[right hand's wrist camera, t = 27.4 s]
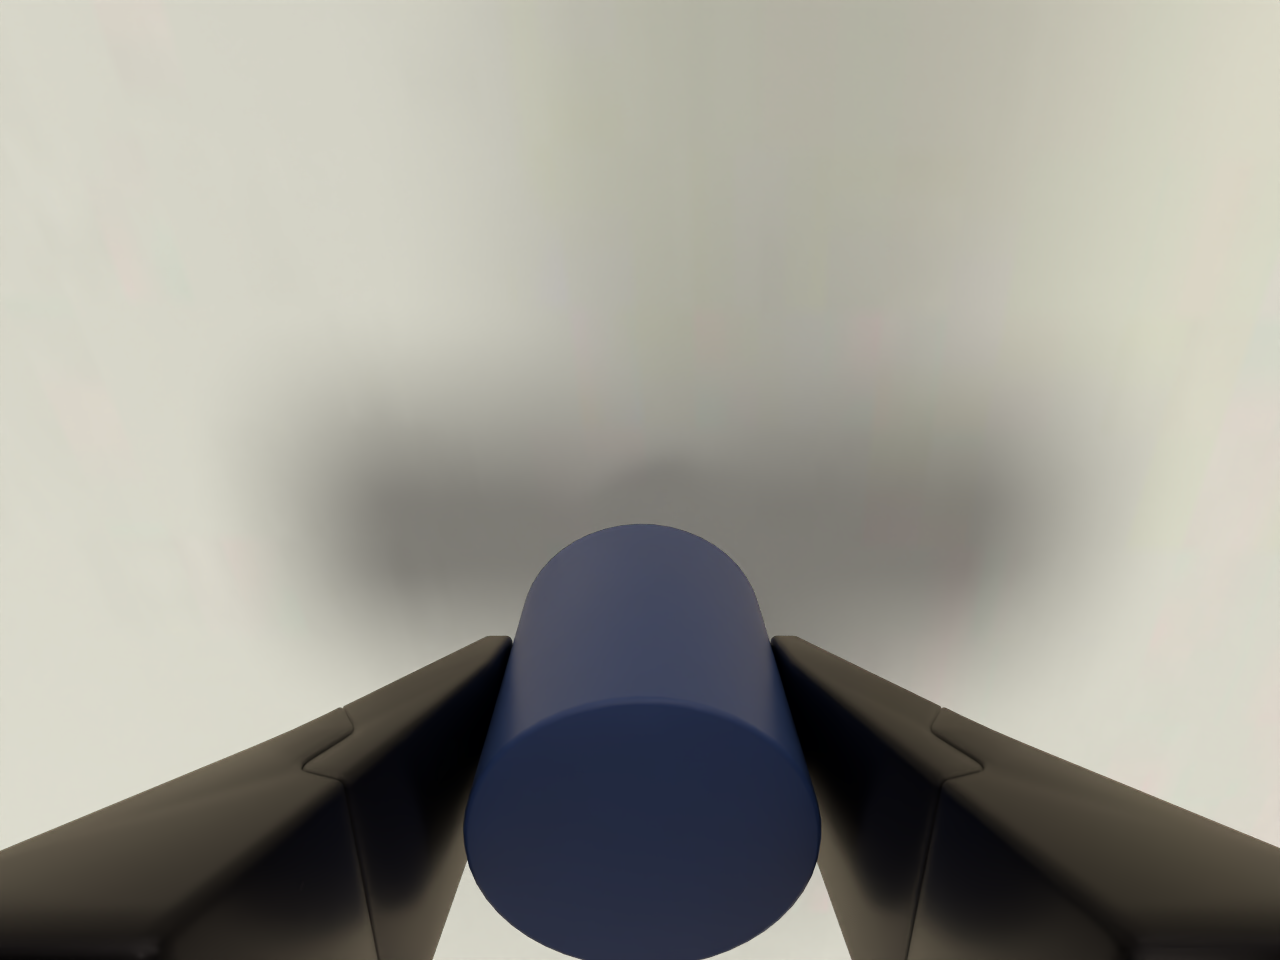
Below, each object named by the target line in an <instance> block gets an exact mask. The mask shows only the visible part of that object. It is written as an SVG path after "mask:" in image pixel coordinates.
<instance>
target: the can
mask: <svg viewBox="0 0 1280 960" xmlns="http://www.w3.org/2000/svg"><path fill="white" fill-rule="evenodd" d="M463 836H464V847H465V852H466V856H467V860H468V864H469V868H470V870H471V872H472V874H473V877H474V879H475V881H476V884H477V885H478V887H479V888H480V890H481V892H482V893H483V895H484V896H485V898H486V899H487V900H488V902H489V903H490V904H491V905H492V906H493V907H494V909H495V910H496V911H497V912H498V913H499V914H500V915H501V916H502V917H503V918H504V919H505V920H507V921H508V922H509V923H510V924H511V925H512V926H514V927H515V928H516V929H518V930H519V931H521V932H522V933H523V934H525V935H526V936H528V937H529V938H531V939H533V940H535V941H537V942H539V943H540V944H542V945H544V946H546V947H548V948H551V949H553V950H555V951H558V952H560V953H563V954H565V955H569V956H572V957H575V958H578V959H582V960H702V959H706V958H710V957H713V956H715V955H718V954H721V953H724V952H726V951H729V950H731V949H733V948H735V947H737V946H740V945H742V944H744V943H746V942H748V941H749V940H751V939H753V938H754V937H756V936H757V935H759V934H761V933H762V932H764V931H765V930H767V929H768V928H769V927H770V926H772V925H773V924H774V923H775V922H777V921H778V920H779V919H780V918H781V917H782V916H783V915H784V914H785V913H786V912H787V911H788V910H789V909H790V908H791V907H792V906H793V905H794V903H795V902H796V901H797V899H798V898H799V897H800V895H801V894H802V893H803V891H804V889H805V887H806V886H807V884H808V882H809V880H810V878H811V876H812V874H813V871H814V868H815V865H816V862H817V859H818V855H819V849H820V843H821V815H820V810H819V805H818V800H817V797H816V794H815V790H814V787H813V784H812V780H811V777H810V774H809V770H808V767H807V764H806V761H805V757H804V754H803V751H802V747H801V744H800V741H799V737H798V734H797V731H796V727H795V724H794V721H793V717H792V714H791V711H790V707H789V704H788V701H787V697H786V694H785V691H784V688H783V684H782V681H781V678H780V674H779V671H778V668H777V664H776V661H775V658H774V654H773V651H772V648H771V644H770V641H769V638H768V634H767V631H766V628H765V625H764V621H763V618H762V615H761V611H760V608H759V605H758V602H757V599H756V596H755V593H754V591H753V588H752V587H751V585H750V583H749V581H748V579H747V577H746V576H745V575H744V573H743V572H742V571H741V569H740V568H739V567H738V565H737V564H736V563H735V562H734V561H733V560H732V559H731V558H730V557H729V556H728V555H727V554H725V553H724V552H723V551H721V550H720V549H719V548H717V547H716V546H715V545H713V544H711V543H710V542H708V541H706V540H704V539H703V538H701V537H698V536H696V535H693V534H691V533H689V532H686V531H683V530H679V529H676V528H672V527H667V526H660V525H654V524H632V525H621V526H616V527H611V528H607V529H603V530H600V531H597V532H594V533H592V534H589V535H587V536H585V537H583V538H581V539H579V540H577V541H575V542H573V543H572V544H570V545H569V546H567V547H566V548H564V549H563V550H561V551H560V552H559V553H558V554H557V555H555V556H554V557H553V558H552V559H551V560H550V561H549V562H548V563H547V564H546V565H545V567H544V568H543V569H542V570H541V571H540V573H539V574H538V576H537V577H536V579H535V581H534V582H533V584H532V586H531V588H530V590H529V593H528V595H527V597H526V601H525V604H524V608H523V611H522V615H521V618H520V622H519V625H518V628H517V632H516V635H515V639H514V642H513V646H512V649H511V653H510V656H509V660H508V663H507V666H506V670H505V673H504V677H503V680H502V684H501V687H500V691H499V694H498V698H497V701H496V704H495V708H494V711H493V715H492V718H491V722H490V725H489V729H488V732H487V736H486V739H485V742H484V746H483V749H482V753H481V756H480V760H479V763H478V767H477V770H476V774H475V777H474V780H473V784H472V787H471V791H470V794H469V798H468V801H467V805H466V809H465V814H464V824H463Z"/></svg>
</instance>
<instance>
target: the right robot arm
mask: <svg viewBox="0 0 1280 960" xmlns="http://www.w3.org/2000/svg"><path fill="white" fill-rule="evenodd" d="M770 644H771V648H772V651H773V654H774V658H775V661H776V664H777V668H778V671H779V674H780V678H781V681H782V684H783V688H784V691H785V694H786V697H787V701H788V704H789V707H790V711H791V714H792V717H793V721H794V724H795V727H796V731H797V734H798V737H799V741H800V744H801V747H802V751H803V754H804V757H805V761H806V764H807V767H808V770H809V774H810V777H811V780H812V784H813V787H814V790H815V794H816V797H817V800H818V805H819V810H820V815H821V843H820V849H819V855H818V859H817V863H818V866H819V869H820V872H821V874H822V877H823V880H824V883H825V886H826V889H827V891H828V894H829V897H830V900H831V903H832V905H833V908H834V911H835V914H836V917H837V920H838V922H839V925H840V928H841V931H842V934H843V937H844V939H845V942H846V945H847V948H848V951H849V954H850V956H851V959H852V960H1280V848H1278V847H1276V846H1274V845H1271V844H1269V843H1266V842H1264V841H1261V840H1259V839H1256V838H1254V837H1252V836H1249V835H1247V834H1244V833H1242V832H1239V831H1237V830H1234V829H1232V828H1230V827H1227V826H1225V825H1222V824H1220V823H1217V822H1215V821H1212V820H1210V819H1208V818H1205V817H1203V816H1200V815H1198V814H1195V813H1193V812H1191V811H1188V810H1186V809H1183V808H1181V807H1178V806H1176V805H1173V804H1171V803H1169V802H1166V801H1164V800H1161V799H1159V798H1156V797H1154V796H1151V795H1149V794H1147V793H1144V792H1142V791H1139V790H1137V789H1134V788H1132V787H1129V786H1127V785H1125V784H1122V783H1120V782H1117V781H1115V780H1112V779H1110V778H1108V777H1105V776H1103V775H1100V774H1098V773H1095V772H1093V771H1090V770H1088V769H1086V768H1083V767H1081V766H1078V765H1076V764H1073V763H1071V762H1068V761H1066V760H1064V759H1061V758H1059V757H1056V756H1054V755H1051V754H1049V753H1046V752H1044V751H1042V750H1039V749H1037V748H1034V747H1032V746H1029V745H1027V744H1025V743H1022V742H1020V741H1018V740H1015V739H1013V738H1010V737H1008V736H1006V735H1003V734H1001V733H999V732H996V731H994V730H992V729H990V728H987V727H985V726H983V725H981V724H979V723H977V722H974V721H972V720H970V719H968V718H966V717H964V716H961V715H959V714H957V713H955V712H953V711H951V710H949V709H947V708H941V707H940V706H939V705H937V704H935V703H933V702H931V701H929V700H926V699H924V698H922V697H920V696H918V695H916V694H914V693H912V692H910V691H908V690H906V689H904V688H902V687H900V686H898V685H896V684H893V683H891V682H889V681H887V680H885V679H883V678H881V677H879V676H877V675H875V674H873V673H871V672H869V671H867V670H865V669H863V668H860V667H858V666H856V665H854V664H852V663H850V662H848V661H846V660H844V659H842V658H840V657H838V656H836V655H834V654H832V653H830V652H828V651H825V650H823V649H821V648H819V647H817V646H815V645H813V644H811V643H809V642H807V641H805V640H803V639H801V638H799V637H796V636H774V637H773V638H772V639H771V643H770ZM512 646H513V643H512V639H511V638H510V637H509V636H487V637H484V638H482V639H480V640H478V641H476V642H474V643H472V644H470V645H468V646H466V647H464V648H462V649H460V650H458V651H456V652H454V653H452V654H450V655H448V656H446V657H443V658H441V659H439V660H437V661H435V662H433V663H431V664H429V665H427V666H425V667H423V668H421V669H419V670H417V671H415V672H413V673H411V674H409V675H407V676H405V677H403V678H401V679H399V680H396V681H394V682H392V683H390V684H388V685H386V686H384V687H382V688H380V689H378V690H376V691H374V692H372V693H370V694H368V695H366V696H364V697H362V698H360V699H358V700H356V701H354V702H352V703H349V704H347V705H345V706H344V707H343V708H337V709H335V710H333V711H331V712H329V713H327V714H325V715H323V716H321V717H319V718H317V719H314V720H312V721H310V722H308V723H306V724H304V725H302V726H299V727H297V728H295V729H293V730H291V731H288V732H286V733H284V734H281V735H279V736H277V737H274V738H272V739H270V740H267V741H265V742H263V743H260V744H258V745H256V746H253V747H251V748H248V749H246V750H243V751H241V752H239V753H236V754H234V755H231V756H229V757H226V758H224V759H222V760H219V761H217V762H214V763H212V764H209V765H207V766H205V767H202V768H200V769H197V770H195V771H193V772H190V773H188V774H185V775H183V776H180V777H178V778H176V779H173V780H171V781H168V782H166V783H163V784H161V785H159V786H156V787H154V788H151V789H149V790H146V791H144V792H142V793H139V794H137V795H134V796H132V797H130V798H127V799H125V800H122V801H120V802H117V803H115V804H113V805H110V806H108V807H105V808H103V809H100V810H98V811H96V812H93V813H91V814H88V815H86V816H83V817H81V818H79V819H76V820H74V821H71V822H69V823H66V824H64V825H62V826H59V827H57V828H54V829H52V830H50V831H47V832H45V833H42V834H40V835H37V836H35V837H33V838H30V839H28V840H25V841H23V842H20V843H18V844H16V845H13V846H11V847H8V848H6V849H3V850H1V851H0V960H432V959H433V957H434V954H435V951H436V948H437V945H438V942H439V939H440V937H441V934H442V931H443V928H444V925H445V922H446V919H447V916H448V914H449V911H450V908H451V905H452V902H453V899H454V896H455V894H456V891H457V888H458V885H459V882H460V879H461V876H462V874H463V871H464V868H465V865H466V862H467V856H466V852H465V847H464V836H463V824H464V814H465V809H466V805H467V801H468V798H469V794H470V791H471V787H472V784H473V780H474V777H475V774H476V770H477V767H478V763H479V760H480V756H481V753H482V749H483V746H484V742H485V739H486V736H487V732H488V729H489V725H490V722H491V718H492V715H493V711H494V708H495V704H496V701H497V698H498V694H499V691H500V687H501V684H502V680H503V677H504V673H505V670H506V666H507V663H508V660H509V656H510V653H511V649H512Z"/></svg>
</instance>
